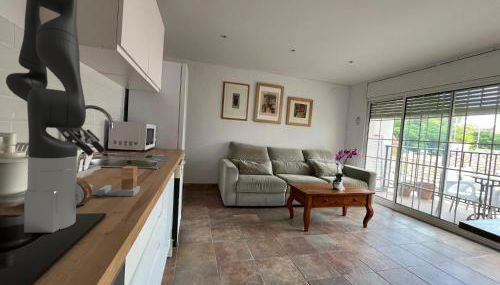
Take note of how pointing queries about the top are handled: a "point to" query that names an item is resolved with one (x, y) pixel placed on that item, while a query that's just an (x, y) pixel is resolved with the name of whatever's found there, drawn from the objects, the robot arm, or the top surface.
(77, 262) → the top surface
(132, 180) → the block
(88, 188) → the tin
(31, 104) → the robot arm
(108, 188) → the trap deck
